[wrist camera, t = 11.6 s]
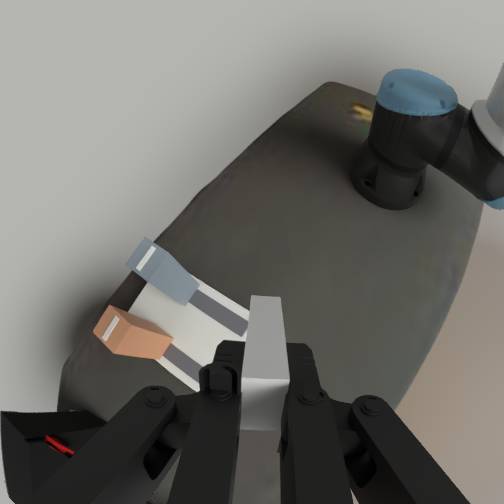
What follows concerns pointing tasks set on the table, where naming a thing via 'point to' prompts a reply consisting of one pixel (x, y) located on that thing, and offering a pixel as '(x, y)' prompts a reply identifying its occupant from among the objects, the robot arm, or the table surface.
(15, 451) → the electrical component
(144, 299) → the switch plate
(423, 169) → the robot arm
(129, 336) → the terracotta switch
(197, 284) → the slate switch
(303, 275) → the table surface
